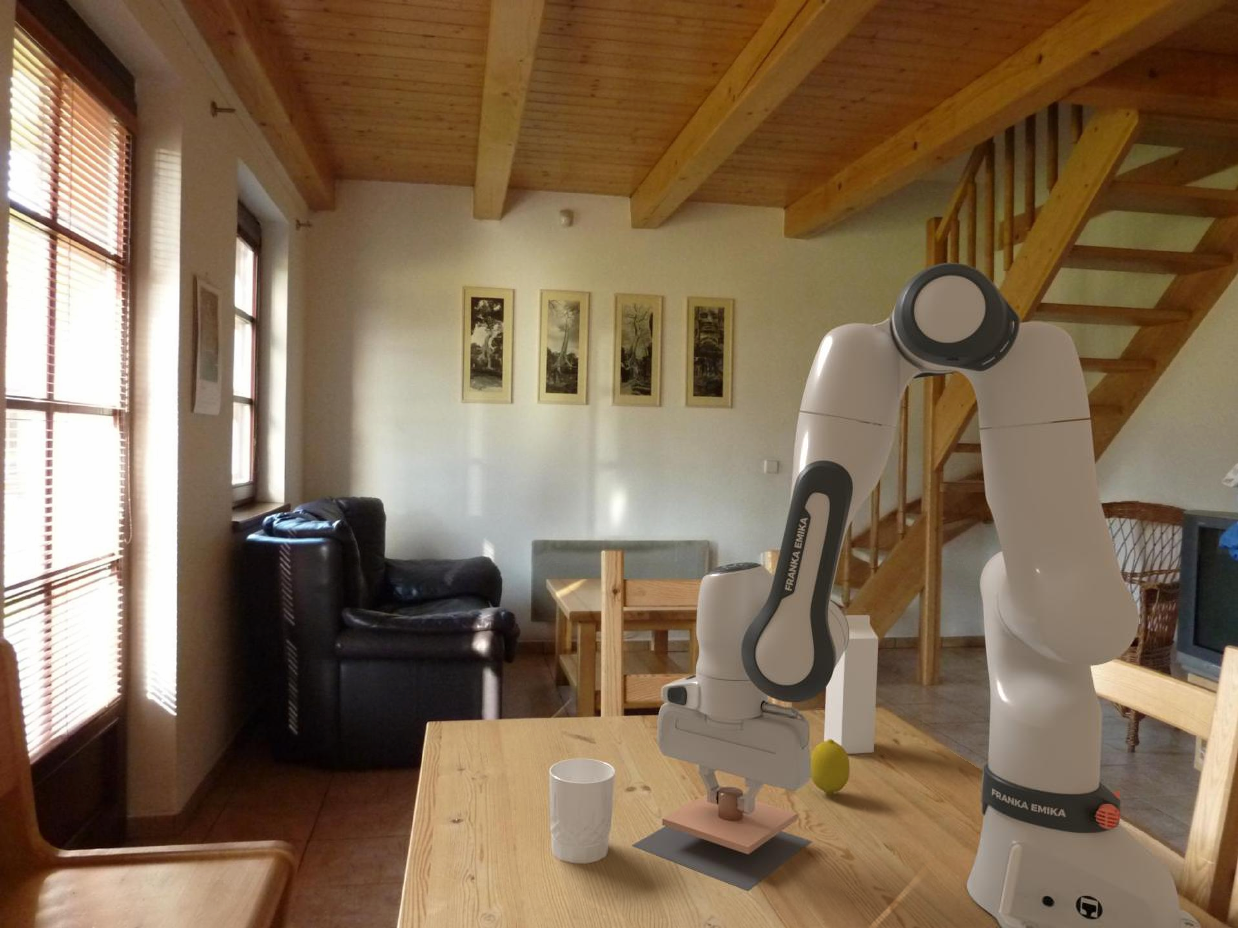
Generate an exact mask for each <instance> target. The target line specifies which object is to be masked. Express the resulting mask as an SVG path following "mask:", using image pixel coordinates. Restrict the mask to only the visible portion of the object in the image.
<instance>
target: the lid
mask: <svg viewBox="0 0 1238 928" xmlns="http://www.w3.org/2000/svg"><path fill="white" fill-rule="evenodd" d="M722 787H723V788H720V789H719V793H718V804H714V803H710V802H708V801H707V793H705V794H704V795H703V794H702V796H700V797H698V798H695V800H693V801H691V802H689V803H687V804H686V805H684V806H682V807H680V808H679V809H677V810H675V811H673V812H671V813H669V814H668V815H665V816H664V817H662V820H661V821H662V824H661V825H662V826H664V827H665V826H667V827H670V828H673V829H675V830H678V831H681V832H684V833H687V834H690V835H693V836H696V837H699V838H702V839H705V840H708V841H711V842H713V843H716V844H719V845H722V846H725V847H728V848H731V849H734V850H737V851H740V852H743V853H746V854H749V853H751V852H752V851H754V850H755V849H757V848H758V847H759V846H761V845H762V844H764V843H765V842H766V841H768V840H769V839H771V838H772V837H774V836H775V835H776V834H778V833H779V832H781V831H784V830H785V829H786V828H787V827H789V826H791V825H792V824H793V823H795V822H796V821H798V812H796V811H795V812H794V811H792V810H788V809H786V808H781V807H779V806H775V805H771V804H767V803H764V802H761V801H757V800H755V809H754V811H753V812H752V813H750V814H746V813H743V812H740V811H738V810H737V807H738V803H737V798H738V797H739V796H742V795H743V794H744V791H743V790H742V789H740V788H738V787H735V786H722Z"/></svg>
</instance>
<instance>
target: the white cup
mask: <svg viewBox="0 0 1238 928" xmlns="http://www.w3.org/2000/svg"><path fill="white" fill-rule="evenodd" d="M615 769H616V768H615V767H614V766H613V765H611V764H609V763H607V762H605V761H602V760H599V759H593V758H570V759H563V760H560V761H558V762H555V763H554V764H552V765H550V767H549V770H548V772H549V773H548V774H549V780H548V781H549V817H550V818H549V823H550V824H549V825H550V827H549V829H550V833H551V835H550V836H551V837H550V839H551V841H550V843H551V844H550V845H551V848H550V849H551V853H552V854H553V855H552V856H554V857H555V858H557V859H559V860H560V861H562V862H567V863H571V864H589V863H594V862H598V861H600V860H602V859H604V858H605V857H607V854H608V852H609V843H610V833H611V828H612V817H613V808H614V805H613V804H614V797H615V796H614V793H615V783H616V781H615V780H616V770H615Z"/></svg>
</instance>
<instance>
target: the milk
mask: <svg viewBox="0 0 1238 928" xmlns="http://www.w3.org/2000/svg"><path fill="white" fill-rule="evenodd" d="M844 615H845V614H844ZM845 617H846V620H847V622H848V626H849V641H848V645H847V647H846V649H845V651H844V653H843V655H842V656H841V658H840V660H839V662H838V664H837V665H836V667H835V668H834V671H833V674H832V677H831V680H830V682H829V683H828V685H827V686H826V688H825V706H824V707H825V708H824V709H825V710H824V711H825V712H824V734H823V735H824V736H823V742H825V741H827V740H828V739H832V740H833V741H834V742H836V743H838V744H839V745H841V746H842V747H843V748H844V750H845V751H846V753H847V755H849V754H850V755H852V754H853V755H854V754H868V753H869V754H870V753H875V750H874V749H875V729H876V727H875V725H876V707H877V706H876V705H877V704H876V702H877V680H878V679H877V677H878V674H877V673H878V653H879V652H878V651H879V650H878V649H879V637H878V635H877V634H876V632H875V630H874V629H873V627H872V626H871V623H870V622H871V616H870V615H869V614H865V615H864V614H863V615H862V614H857V615H856V614H855V615H854V614H853V615H851V614H850V615H845Z"/></svg>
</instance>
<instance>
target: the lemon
mask: <svg viewBox="0 0 1238 928" xmlns="http://www.w3.org/2000/svg"><path fill="white" fill-rule="evenodd" d="M810 757H811V780H812V782H813V784H814V785H815V786H816V787H817V788H818V789H819V790H821V791H823V792H824V793H825V794H826V796H832V795H833V794H834V793H836V792H839V791H841V790H842V789H843V788H844V787H845V786H846V785H847V783H848V781H849V777H850V771H851V770H850V769H851V767H850V760H849V754H847V753H846V751H845V750H844V748H843V747H842V746H841V745H839V744H838V743H836V742H834V741H833V740H832V739H828V740H827V741H825V742H824V741H822V742H820V743H819V744H817V745H816V746H815V748H814V749H813V751H812V753H811V754H810Z"/></svg>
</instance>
